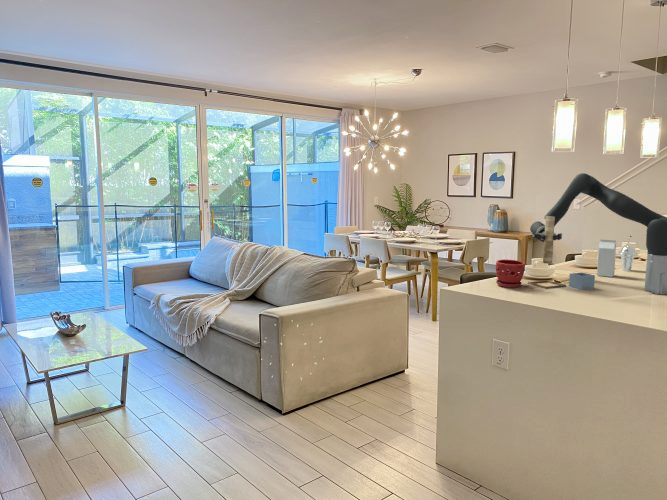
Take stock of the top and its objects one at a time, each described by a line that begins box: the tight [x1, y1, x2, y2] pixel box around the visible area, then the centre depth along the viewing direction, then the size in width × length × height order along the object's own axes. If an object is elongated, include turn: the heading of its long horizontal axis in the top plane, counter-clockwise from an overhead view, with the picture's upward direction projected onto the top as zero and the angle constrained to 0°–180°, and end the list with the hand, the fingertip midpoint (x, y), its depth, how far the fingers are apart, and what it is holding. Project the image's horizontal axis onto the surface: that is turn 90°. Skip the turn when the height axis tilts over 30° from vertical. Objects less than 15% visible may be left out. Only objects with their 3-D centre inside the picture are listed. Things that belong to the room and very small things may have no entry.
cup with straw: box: [618, 235, 637, 272], centre depth 274 cm, size 8×9×20 cm
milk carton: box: [596, 239, 617, 278], centre depth 260 cm, size 7×7×19 cm
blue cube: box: [568, 272, 596, 291], centre depth 229 cm, size 7×7×7 cm
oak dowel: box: [542, 216, 555, 265], centre depth 232 cm, size 4×4×22 cm
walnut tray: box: [527, 279, 567, 290], centre depth 235 cm, size 12×12×2 cm
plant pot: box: [495, 259, 526, 289], centre depth 237 cm, size 13×13×12 cm
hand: (549, 238), depth 230 cm, fingers closed on oak dowel, 4 cm apart
